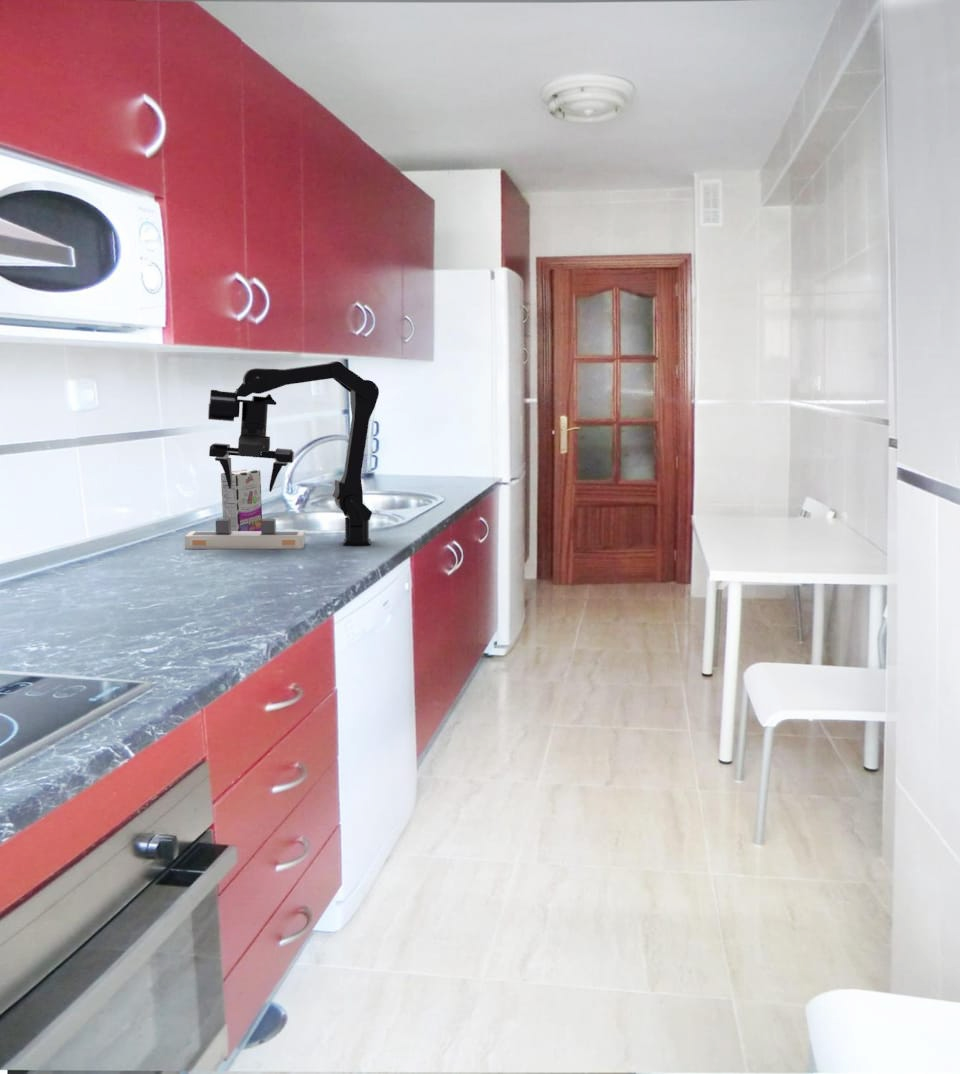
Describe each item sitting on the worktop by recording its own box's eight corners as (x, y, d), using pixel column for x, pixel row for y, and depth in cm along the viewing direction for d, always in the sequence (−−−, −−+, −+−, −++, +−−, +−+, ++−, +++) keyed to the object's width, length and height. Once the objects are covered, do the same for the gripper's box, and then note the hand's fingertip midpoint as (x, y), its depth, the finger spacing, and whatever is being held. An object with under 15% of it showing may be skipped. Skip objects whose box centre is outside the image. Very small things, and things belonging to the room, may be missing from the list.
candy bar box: (246, 531, 242) (244, 468, 239) (263, 532, 240) (261, 469, 237) (221, 538, 231) (219, 472, 228) (239, 539, 230) (237, 473, 227)
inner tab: (263, 531, 222) (262, 518, 222) (275, 531, 222) (275, 518, 222) (261, 533, 219) (261, 520, 219) (274, 533, 219) (274, 520, 219)
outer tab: (218, 531, 221) (217, 518, 220) (231, 531, 221) (230, 518, 221) (216, 533, 218) (215, 520, 217) (229, 533, 218) (228, 520, 218)
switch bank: (191, 543, 223) (190, 530, 222) (305, 543, 226) (305, 530, 225) (184, 549, 215) (184, 535, 215) (302, 548, 218) (302, 535, 218)
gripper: (207, 420, 205) (203, 490, 208) (292, 427, 208) (288, 496, 210) (214, 419, 216) (211, 485, 219) (295, 426, 219) (291, 491, 221)
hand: (250, 489), depth 217 cm, fingers open, 9 cm apart
